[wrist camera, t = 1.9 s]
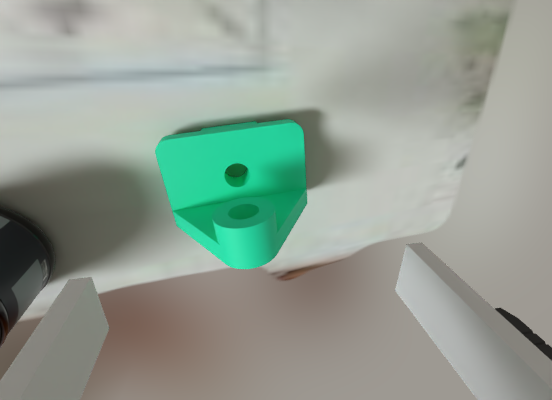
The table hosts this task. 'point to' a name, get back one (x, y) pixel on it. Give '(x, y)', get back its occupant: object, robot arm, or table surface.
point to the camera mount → (236, 187)
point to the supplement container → (21, 267)
